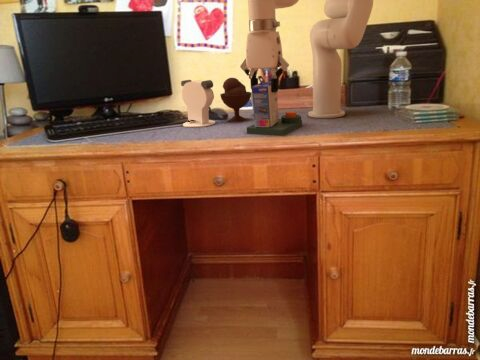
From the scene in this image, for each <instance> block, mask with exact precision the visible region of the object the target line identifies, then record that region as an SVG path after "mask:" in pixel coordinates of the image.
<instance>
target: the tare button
mask: <svg viewBox="0 0 480 360" xmlns="http://www.w3.org/2000/svg"><path fill="white" fill-rule="evenodd" d="M285 115H286V117H296V115H297V111H286V112H285Z"/></svg>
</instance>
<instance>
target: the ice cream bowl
mask: <svg viewBox="0 0 480 360" xmlns="http://www.w3.org/2000/svg"><path fill="white" fill-rule="evenodd" d="M222 88H223V90H224V92H223V93H220V99H221V101H222V103H223V104H224V105H225V106H226V107H228V108H229V109H232V110H233V111H234V112H233V113H234V115H233V116H232V117H231V118H229V122H231V123H232V122H234V123H235V122H236V123H237V122H243V121H245V120H246V119H245V117H243V116H241V115H240V109H242V108H244V107H245V106H246V105H248V103H249V102H250V101H251V92H250V91H247V88H246V86H245V85H244V84H243V83H242V82H241V81H240V80H239V79H238V78H237V77H228V78H227V79H225V80H224V81H223V84H222Z"/></svg>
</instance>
